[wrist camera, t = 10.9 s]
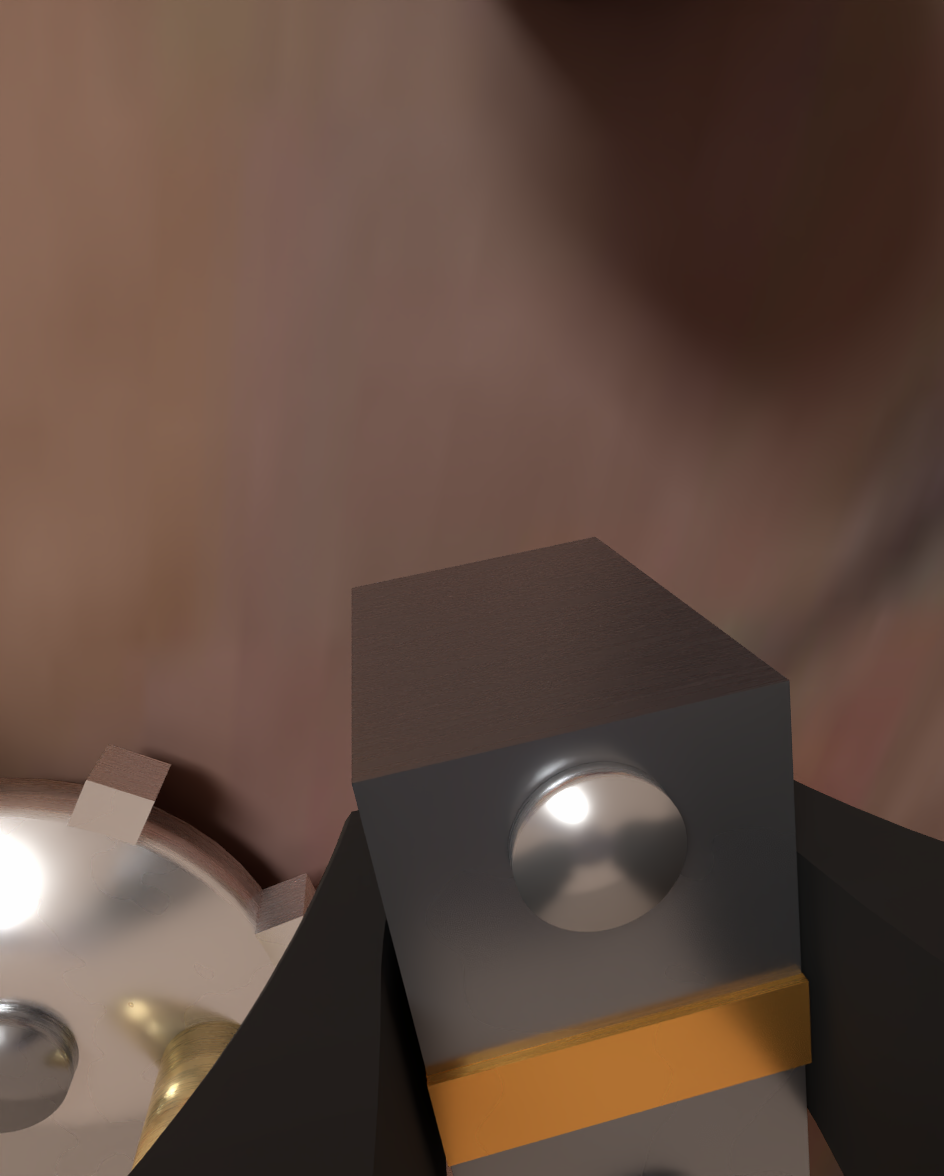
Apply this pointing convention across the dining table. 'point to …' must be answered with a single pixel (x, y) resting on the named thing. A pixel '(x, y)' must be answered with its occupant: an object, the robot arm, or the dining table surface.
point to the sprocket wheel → (118, 964)
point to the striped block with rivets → (585, 868)
